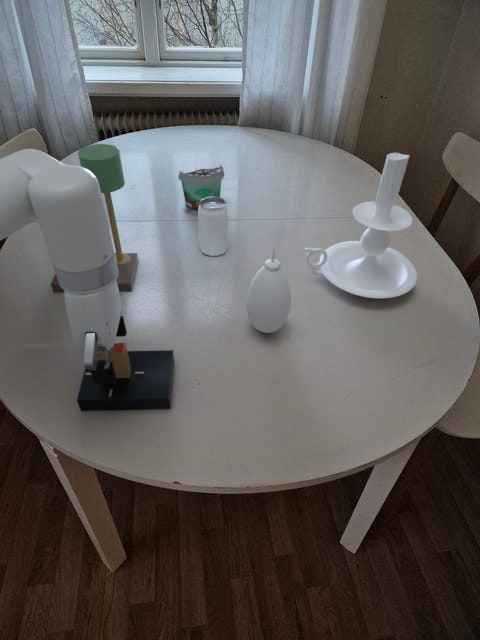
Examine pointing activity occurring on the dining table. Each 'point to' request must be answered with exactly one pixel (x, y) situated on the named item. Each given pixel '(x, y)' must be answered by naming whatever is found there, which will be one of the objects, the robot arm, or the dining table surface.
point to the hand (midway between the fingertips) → (111, 357)
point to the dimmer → (132, 385)
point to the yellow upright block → (118, 359)
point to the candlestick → (372, 244)
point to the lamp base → (123, 279)
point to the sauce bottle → (269, 297)
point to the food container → (201, 185)
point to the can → (212, 226)
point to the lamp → (107, 183)
